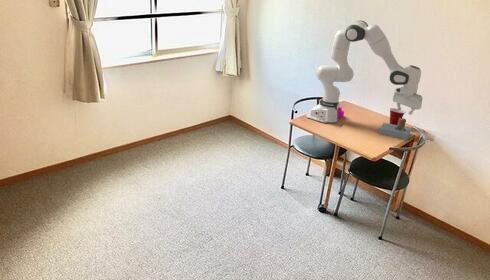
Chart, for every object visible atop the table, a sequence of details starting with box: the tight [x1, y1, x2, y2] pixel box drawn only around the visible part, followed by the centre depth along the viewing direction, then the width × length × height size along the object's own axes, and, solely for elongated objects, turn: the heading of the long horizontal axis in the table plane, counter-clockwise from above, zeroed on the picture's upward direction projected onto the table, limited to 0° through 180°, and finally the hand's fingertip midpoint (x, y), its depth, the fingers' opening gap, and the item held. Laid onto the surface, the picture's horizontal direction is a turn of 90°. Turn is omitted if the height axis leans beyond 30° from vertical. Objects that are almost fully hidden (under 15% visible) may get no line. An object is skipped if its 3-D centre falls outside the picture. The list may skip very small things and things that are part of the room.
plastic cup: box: [389, 107, 406, 125], centre depth 274 cm, size 11×11×12 cm
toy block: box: [337, 106, 345, 119], centre depth 291 cm, size 15×6×8 cm, turn 19°
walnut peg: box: [396, 117, 407, 131], centre depth 257 cm, size 4×4×10 cm
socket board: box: [378, 122, 412, 141], centre depth 260 cm, size 18×14×4 cm
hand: (404, 112), depth 254 cm, fingers open, 8 cm apart
